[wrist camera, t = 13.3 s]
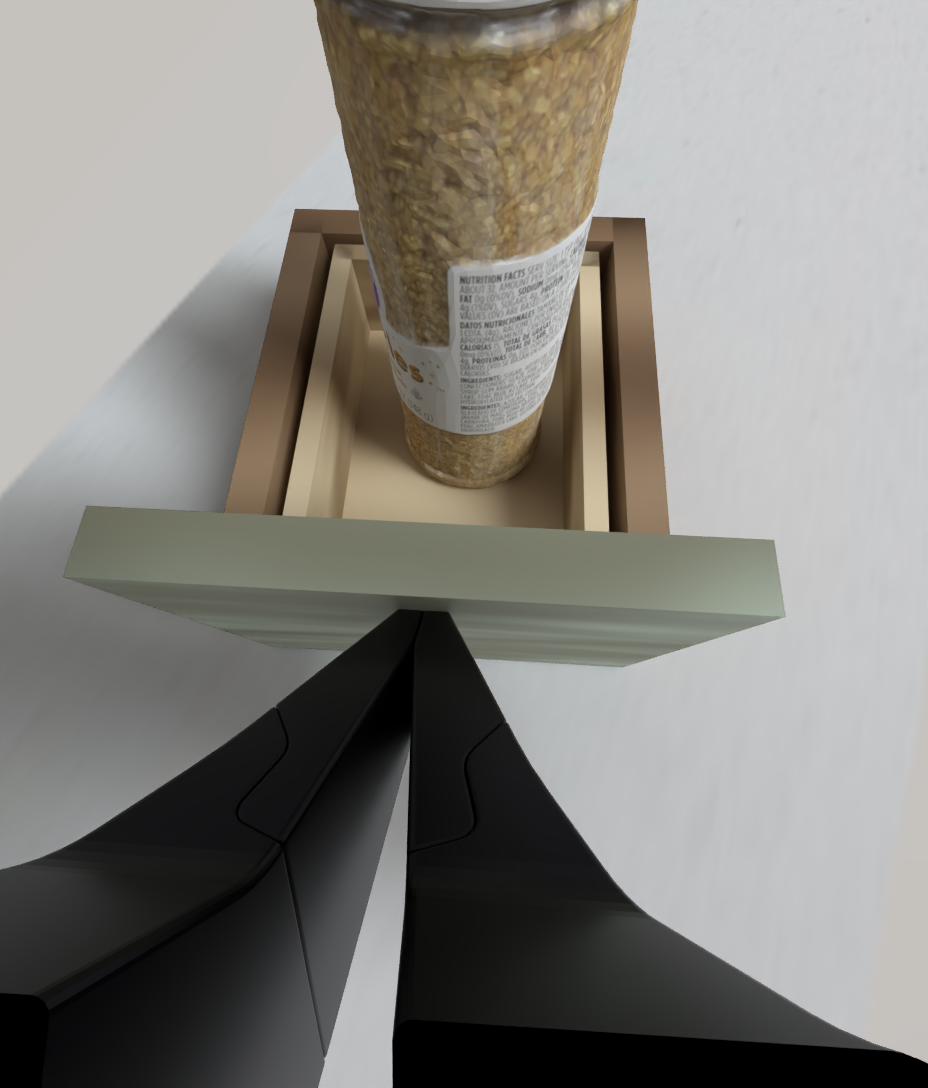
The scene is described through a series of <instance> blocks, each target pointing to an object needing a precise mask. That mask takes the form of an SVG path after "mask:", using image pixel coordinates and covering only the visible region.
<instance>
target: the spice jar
mask: <svg viewBox="0 0 928 1088" xmlns="http://www.w3.org/2000/svg"><path fill="white" fill-rule="evenodd" d="M314 2H315V6H316V9H317V22H318V26H319V29H320V33H321V37H322V41H323V47H324V51H325V56H326V61H327V66H328V69H329V72H330V76H331V80H332V85H333V90H334V98H335V105H336V109H337V112H338V114H339V117H340V120H341V125H342V134H343V139H344V145H345V151H346V154H347V158H348V161H349V165H350V169H351V173H352V178H353V183H354V187H355V195H356V200H357V203H358V205H359V220H360V226H361V231H362V236H363V241H364V246H365V250H366V254H367V258H368V262H369V267H370V272H371V277H372V282H373V287H374V291H375V296H376V300H377V305H378V309H379V314H380V319H381V323H382V327H383V331H384V335H385V339H386V344H387V349H388V353H389V358H390V362H391V367H392V372H393V376H394V380H395V384H396V387H397V389H398V392H399V394H400V396H401V403H402V407H403V411H404V416H405V420H404V425H405V436H406V442H407V444H408V447H409V450H410V451H411V453H412V455H413V457H414V459H415V460H416V461H417V462H418V463H419V464H420V466H421V467H422V468H423V469H424V470H425V471H426V472H427V473H428V474H429V475H431V476H432V477H434V478H437V479H439V480H440V481H442V482H444V483H446V484H449V485H454V486H458V487H467V488H488V487H491V486H494V485H496V484H498V483H501V482H504V481H506V480H508V479H510V478H512V477H513V476H515V475H516V474H518V473H519V472H520V471H521V470H523V468H524V467H525V466H526V465H527V464H528V463H529V462H530V461H531V459H532V457H533V455H534V453H535V451H536V449H537V446H538V444H539V440H540V434H541V415H542V411H543V406H544V402H545V397H546V395H547V393H548V391H549V389H550V387H551V383H552V380H553V377H554V373H555V369H556V364H557V360H558V356H559V352H560V348H561V344H562V340H563V336H564V332H565V328H566V324H567V320H568V316H569V312H570V307H571V303H572V299H573V295H574V291H575V287H576V283H577V279H578V275H579V271H580V267H581V263H582V259H583V255H584V251H585V246H586V242H587V238H588V234H589V229H590V225H591V221H592V217H593V213H594V208H595V204H596V200H597V195H598V186H599V171H600V167H601V163H602V157H603V153H604V150H605V146H606V142H607V139H608V132H609V128H610V125H611V122H612V118H613V109H614V105H615V102H616V98H617V94H618V91H619V87H620V84H621V78H622V72H623V68H624V63H625V59H626V55H627V52H628V49H629V44H630V39H631V31H632V25H633V22H634V19H635V16H636V9H637V3H638V0H314Z"/></svg>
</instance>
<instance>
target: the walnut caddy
mask: <svg viewBox="0 0 928 1088" xmlns="http://www.w3.org/2000/svg"><path fill="white" fill-rule="evenodd" d="M335 244H351V245H364V241H363V236H362V231H361V226H360V220H359V211H356V210H318V209H295V212H294V216H293V220H292V224H291V229H290V233H289V237H288V241H287V246H286V250H285V254H284V258H283V263H282V267H281V271H280V275H279V280H278V284H277V288H276V293H275V297H274V301H273V305H272V310H271V314H270V318H269V322H268V327H267V331H266V335H265V339H264V344H263V348H262V352H261V356H260V361H259V365H258V369H257V373H256V378H255V382H254V386H253V391H252V395H251V399H250V403H249V408H248V412H247V416H246V420H245V425H244V429H243V433H242V437H241V442H240V446H239V450H238V454H237V459H236V463H235V467H234V471H233V476H232V480H231V484H230V488H229V493H228V497H227V501H226V506H225V510H224V513H240V514H260V515H280V516H282V515H283V510H284V505H285V500H286V495H287V489H288V484H289V479H290V474H291V469H292V464H293V458H294V453H295V448H296V443H297V438H298V432H299V427H300V422H301V417H302V412H303V407H304V401H305V396H306V391H307V386H308V381H309V375H310V370H311V365H312V360H313V355H314V350H315V344H316V339H317V334H318V329H319V324H320V318H321V313H322V308H323V303H324V298H325V292H326V287H327V282H328V277H329V272H330V267H331V261H332V256H333V251H334V246H335ZM585 251H590V252H599V270H600V297H601V324H602V351H603V378H604V405H605V433H606V460H607V487H608V514H609V532H622V533H642V534H662V535H670V531H669V518H668V505H667V493H666V480H665V467H664V455H663V442H662V429H661V417H660V404H659V391H658V379H657V366H656V353H655V341H654V328H653V315H652V303H651V290H650V277H649V265H648V252H647V239H646V227H645V218H618V217H592V221H591V225H590V229H589V234H588V238H587V242H586V246H585Z"/></svg>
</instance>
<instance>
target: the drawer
mask: <svg viewBox="0 0 928 1088" xmlns="http://www.w3.org/2000/svg"><path fill="white" fill-rule="evenodd" d="M404 420H405V416H404V411H403V407H402V403H401V396H400V394H399V392H398V389H397V387H396V384H395V380H394V376H393V372H392V367H391V362H390V358H389V353H388V349H387V344H386V339H385V335H384V331H383V327H382V323H381V319H380V314H379V309H378V305H377V300H376V296H375V291H374V287H373V282H372V277H371V272H370V267H369V262H368V258H367V254H366V250H365V246H364V245H351V244H335V246H334V251H333V256H332V261H331V267H330V272H329V277H328V282H327V287H326V292H325V298H324V303H323V308H322V313H321V318H320V324H319V329H318V334H317V339H316V344H315V350H314V355H313V360H312V365H311V370H310V375H309V381H308V386H307V391H306V396H305V401H304V407H303V412H302V417H301V422H300V427H299V432H298V438H297V443H296V448H295V453H294V458H293V464H292V469H291V474H290V479H289V484H288V489H287V495H286V500H285V505H284V510H283V515H282V516H280V515H260V514H240V513H220V512H200V511H180V510H160V509H140V508H120V507H100V506H86V509H85V512H84V515H83V518H82V521H81V524H80V527H79V530H78V533H77V536H76V539H75V542H74V545H73V548H72V551H71V554H70V557H69V560H68V563H67V566H66V569H65V572H64V575H63V577H65V578H68V579H71V580H74V581H77V582H80V583H83V584H86V585H89V586H92V587H95V588H98V589H101V590H104V591H107V592H110V593H113V594H116V595H119V596H122V597H125V598H128V599H131V600H134V601H137V602H140V603H143V604H146V605H149V606H152V607H155V608H158V609H161V610H164V611H167V612H170V613H173V614H176V615H179V616H182V617H185V618H188V619H191V620H194V621H197V622H200V623H203V624H206V625H209V626H212V627H215V628H218V629H221V630H224V631H227V632H230V633H233V634H236V635H239V636H242V637H245V638H248V639H251V640H254V641H257V642H260V643H263V644H266V645H269V646H275V647H292V648H309V649H326V650H342V651H346V650H347V649H348V648H349V647H351V646H352V645H353V644H354V643H356V642H357V641H358V640H360V639H361V638H362V637H363V636H365V635H366V634H367V633H368V632H370V631H371V630H372V629H374V628H375V627H376V626H377V625H379V624H380V623H381V622H382V621H384V620H385V619H386V618H388V617H389V616H390V615H391V614H393V613H394V612H395V611H396V610H398V609H408V610H421V611H423V612H424V611H443V612H449V613H450V615H451V616H452V618H453V620H454V622H455V624H456V626H457V628H458V630H459V632H460V634H461V635H462V637H463V639H464V641H465V643H466V645H467V647H468V649H469V651H470V653H471V654H472V656H473V658H476V659H493V660H510V661H527V662H544V663H560V664H577V665H594V666H611V667H625V666H628V665H632V664H635V663H638V662H641V661H644V660H648V659H651V658H654V657H657V656H661V655H664V654H667V653H670V652H674V651H677V650H680V649H683V648H686V647H690V646H693V645H696V644H699V643H703V642H706V641H709V640H712V639H716V638H719V637H722V636H725V635H728V634H732V633H735V632H738V631H741V630H745V629H748V628H751V627H754V626H757V625H761V624H764V623H767V622H770V621H774V620H777V619H780V618H783V617H786V616H785V610H784V603H783V596H782V590H781V583H780V576H779V570H778V563H777V557H776V550H775V543H774V540H762V539H742V538H722V537H702V536H682V535H662V534H642V533H622V532H609V514H608V487H607V460H606V433H605V405H604V378H603V351H602V324H601V297H600V270H599V252H590V251H584V255H583V259H582V263H581V267H580V271H579V275H578V279H577V283H576V287H575V291H574V295H573V299H572V303H571V307H570V312H569V316H568V320H567V324H566V328H565V332H564V336H563V340H562V344H561V348H560V352H559V356H558V360H557V364H556V369H555V373H554V377H553V380H552V383H551V387H550V389H549V391H548V393H547V395H546V397H545V402H544V406H543V411H542V415H541V434H540V440H539V444H538V446H537V449H536V451H535V453H534V455H533V457H532V459H531V461H530V462H529V463H528V464H527V465H526V466H525V467H524V468H523V470H521V471H520V472H519V473H518V474H516V475H515V476H513V477H512V478H510V479H508V480H506V481H504V482H501V483H498V484H496V485H494V486H491V487H488V488H467V487H458V486H454V485H449V484H446V483H444V482H442V481H440V480H439V479H437V478H434V477H432V476H431V475H429V474H428V473H427V472H426V471H425V470H424V469H423V468H422V467H421V466H420V464H419V463H418V462H417V461H416V460H415V459H414V457H413V455H412V453H411V451H410V450H409V447H408V444H407V442H406V436H405V425H404Z"/></svg>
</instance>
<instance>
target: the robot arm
mask: <svg viewBox="0 0 928 1088" xmlns="http://www.w3.org/2000/svg"><path fill="white" fill-rule="evenodd" d="M409 748H410V767H409V800H408V833H407V866H406V891H405V908H404V920H403V931H402V942H401V953H400V963H399V974H398V985H397V996H396V1007H395V1017H394V1028H393V1039H392V1052H393V1088H928V1063H926V1062H923V1061H921V1060H919V1059H917V1058H914V1057H911V1056H909V1055H906V1054H904V1053H901V1052H898V1051H895V1050H892V1049H888V1048H886V1047H882V1046H879V1045H876V1044H873V1043H871V1042H869V1041H866V1040H864V1039H862V1038H859V1037H857V1036H855V1035H852V1034H850V1033H848V1032H845V1031H843V1030H841V1029H839V1028H837V1027H835V1026H833V1025H831V1024H829V1023H827V1022H826V1021H824V1020H822V1019H820V1018H818V1017H817V1016H815V1015H813V1014H811V1013H809V1012H808V1011H806V1010H804V1009H803V1008H801V1007H799V1006H798V1005H796V1004H794V1003H793V1002H791V1001H789V1000H788V999H786V998H784V997H783V996H781V995H779V994H778V993H776V992H775V991H773V990H771V989H770V988H768V987H766V986H765V985H763V984H761V983H760V982H758V981H756V980H755V979H753V978H751V977H750V976H748V975H746V974H745V973H743V972H742V971H740V970H738V969H737V968H735V967H733V966H732V965H730V964H728V963H727V962H725V961H723V960H722V959H720V958H718V957H717V956H715V955H713V954H712V953H710V952H709V951H707V950H705V949H704V948H702V947H700V946H699V945H697V944H695V943H694V942H692V941H690V940H689V939H687V938H685V937H684V936H682V935H680V934H679V933H677V932H675V931H674V930H672V929H671V928H669V927H667V926H666V925H664V924H662V923H661V922H659V921H657V920H656V919H654V918H653V917H651V916H650V915H648V914H647V913H646V912H645V911H643V910H642V909H641V908H640V907H639V906H637V905H636V904H635V903H634V902H633V901H632V900H631V899H630V898H629V897H628V896H627V895H626V894H625V893H624V892H623V890H622V889H621V888H620V887H619V886H618V885H617V884H616V883H615V881H614V880H613V879H612V877H611V876H610V875H609V874H608V872H607V871H606V870H605V868H604V867H603V865H602V864H601V863H600V861H599V860H598V859H597V857H596V856H595V854H594V853H593V852H592V850H591V849H590V848H589V846H588V845H587V843H586V842H585V841H584V839H583V838H582V836H581V835H580V834H579V832H578V831H577V830H576V828H575V827H574V825H573V824H572V823H571V821H570V820H569V818H568V817H567V816H566V814H565V813H564V812H563V810H562V809H561V807H560V806H559V805H558V803H557V802H556V801H555V799H554V798H553V796H552V795H551V794H550V792H549V791H548V789H547V788H546V786H545V785H544V783H543V782H542V780H541V779H540V777H539V776H538V774H537V773H536V772H535V770H534V769H533V767H532V766H531V764H530V762H529V760H528V759H527V757H526V755H525V754H524V752H523V750H522V748H521V747H520V745H519V743H518V741H517V740H516V738H515V736H514V734H513V732H512V730H511V728H510V726H509V724H508V723H506V719H505V717H504V715H503V713H502V712H501V710H500V708H499V706H498V704H497V702H496V700H495V698H494V696H493V694H492V693H491V691H490V689H489V687H488V685H487V683H486V681H485V679H484V677H483V675H482V674H481V672H480V670H479V668H478V666H477V664H476V662H475V660H474V658H473V656H472V654H471V653H470V651H469V649H468V647H467V645H466V643H465V641H464V639H463V637H462V635H461V634H460V632H459V630H458V628H457V626H456V624H455V622H454V620H453V618H452V616H451V615H450V613H449V612H443V611H424V612H423V611H421V610H408V609H398V610H396V611H395V612H394V613H393V614H391V615H390V616H389V617H388V618H386V619H385V620H384V621H382V622H381V623H380V624H379V625H377V626H376V627H375V628H374V629H372V630H371V631H370V632H368V633H367V634H366V635H365V636H363V637H362V638H361V639H360V640H358V641H357V642H356V643H354V644H353V645H352V646H351V647H349V648H348V649H347V650H346V651H344V652H343V653H342V654H340V655H339V656H338V657H337V658H335V659H334V660H333V661H332V662H330V663H329V664H328V665H326V666H325V667H324V668H323V669H321V670H320V671H319V672H318V673H316V674H315V675H314V676H312V677H311V678H310V679H309V680H307V681H306V682H305V683H304V684H302V685H301V686H300V687H298V688H297V689H296V690H295V691H293V692H292V693H291V694H290V695H288V696H287V697H286V698H284V699H283V700H282V701H281V702H279V703H278V704H277V705H276V708H271V709H270V710H269V711H268V712H266V713H265V714H264V715H263V716H261V717H260V718H259V719H257V720H256V721H255V722H254V723H252V724H251V725H250V726H248V727H247V728H246V729H244V730H243V731H242V732H240V733H239V734H237V735H236V736H235V737H233V738H232V739H231V740H229V741H228V742H227V743H225V744H224V745H222V746H221V747H220V748H218V749H217V750H215V751H214V752H212V753H211V754H209V755H208V756H206V757H205V758H203V759H202V760H200V761H199V762H198V763H196V764H195V765H193V766H192V767H190V768H189V769H187V770H186V771H184V772H183V773H181V774H180V775H178V776H177V777H175V778H173V779H172V780H170V781H169V782H167V783H166V784H164V785H163V786H161V787H160V788H158V789H157V790H155V791H154V792H152V793H151V794H149V795H147V796H146V797H144V798H143V799H141V800H140V801H138V802H137V803H135V804H134V805H132V806H131V807H129V808H128V809H126V810H125V811H123V812H122V813H120V814H118V815H117V816H115V817H114V818H112V819H111V820H109V821H108V822H106V823H105V824H103V825H102V826H100V827H99V828H97V829H95V830H94V831H92V832H91V833H89V834H87V835H86V836H84V837H82V838H81V839H79V840H77V841H75V842H73V843H72V844H70V845H68V846H66V847H64V848H62V849H60V850H58V851H55V852H53V853H51V854H48V855H46V856H44V857H41V858H39V859H36V860H33V861H30V862H27V863H24V864H21V865H17V866H13V867H9V868H5V869H1V870H0V1088H318V1085H319V1082H320V1078H321V1074H322V1071H323V1067H324V1063H325V1061H324V1057H325V1056H326V1055H327V1051H328V1048H329V1044H330V1040H331V1037H332V1033H333V1029H334V1026H335V1022H336V1018H337V1014H338V1011H339V1007H340V1003H341V1000H342V996H343V992H344V989H345V985H346V981H347V977H348V974H349V970H350V966H351V963H352V959H353V955H354V952H355V948H356V944H357V940H358V937H359V933H360V929H361V926H362V922H363V918H364V915H365V911H366V907H367V903H368V900H369V896H370V892H371V889H372V885H373V881H374V878H375V874H376V870H377V866H378V863H379V859H380V855H381V852H382V848H383V844H384V841H385V837H386V833H387V829H388V826H389V822H390V818H391V815H392V811H393V807H394V804H395V800H396V796H397V792H398V789H399V785H400V781H401V778H402V774H403V770H404V767H405V763H406V759H407V755H408V752H409Z"/></svg>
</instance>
